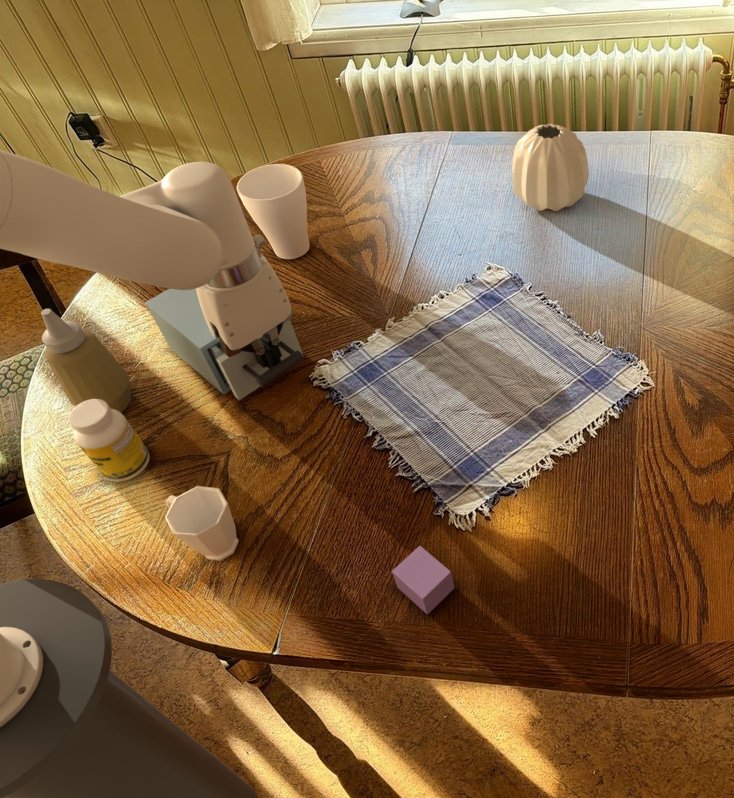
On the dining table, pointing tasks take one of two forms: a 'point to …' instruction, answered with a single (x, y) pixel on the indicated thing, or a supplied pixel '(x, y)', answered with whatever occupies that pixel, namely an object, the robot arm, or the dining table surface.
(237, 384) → the drawer
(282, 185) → the cup
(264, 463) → the dining table surface
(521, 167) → the vase
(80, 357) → the squeeze bottle
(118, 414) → the pill bottle
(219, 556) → the cup
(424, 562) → the cube
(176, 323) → the cabinet
